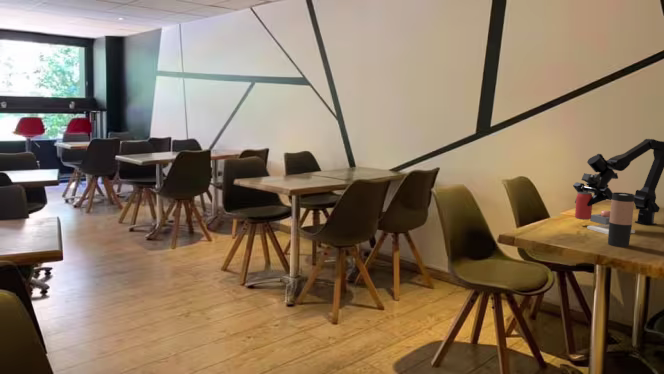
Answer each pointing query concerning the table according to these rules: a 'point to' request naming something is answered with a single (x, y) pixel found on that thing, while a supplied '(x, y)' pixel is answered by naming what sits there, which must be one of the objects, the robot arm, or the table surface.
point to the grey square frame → (600, 219)
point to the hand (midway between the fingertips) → (581, 204)
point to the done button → (605, 213)
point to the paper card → (602, 228)
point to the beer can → (583, 206)
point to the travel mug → (621, 219)
